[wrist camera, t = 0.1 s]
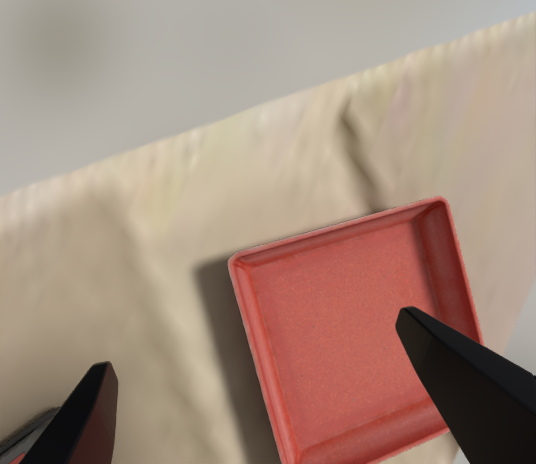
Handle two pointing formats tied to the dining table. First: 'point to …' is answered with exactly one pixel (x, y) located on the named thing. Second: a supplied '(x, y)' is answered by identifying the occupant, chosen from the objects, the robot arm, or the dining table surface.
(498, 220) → the dining table surface
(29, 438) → the walkie-talkie
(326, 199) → the dining table surface
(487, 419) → the robot arm
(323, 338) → the plant saucer
